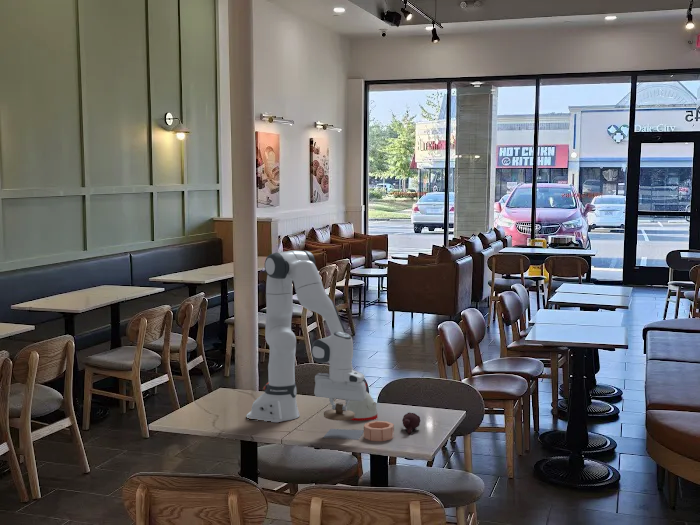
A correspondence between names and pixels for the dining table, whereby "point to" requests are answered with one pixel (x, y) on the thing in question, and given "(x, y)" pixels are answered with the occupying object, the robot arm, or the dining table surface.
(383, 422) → the bowl
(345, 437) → the mat
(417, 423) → the icecream
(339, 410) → the lid
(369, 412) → the kitchen timer
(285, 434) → the dining table surface
